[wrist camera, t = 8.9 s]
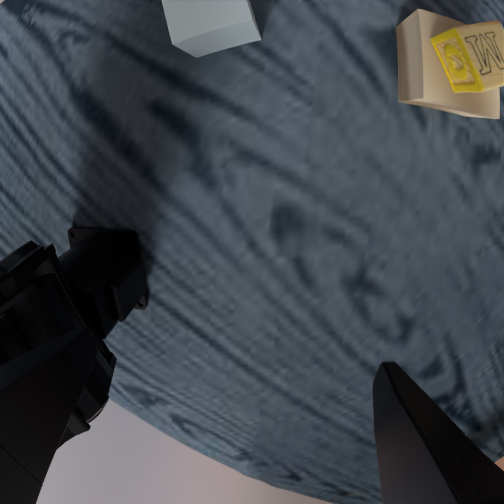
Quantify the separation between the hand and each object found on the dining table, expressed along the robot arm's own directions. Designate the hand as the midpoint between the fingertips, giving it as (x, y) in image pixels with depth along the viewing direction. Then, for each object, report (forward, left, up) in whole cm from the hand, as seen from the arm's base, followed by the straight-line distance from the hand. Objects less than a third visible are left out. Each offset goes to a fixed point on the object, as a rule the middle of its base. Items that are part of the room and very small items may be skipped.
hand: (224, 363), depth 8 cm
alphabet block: (+10, +11, -8) cm, 17 cm away
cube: (-3, +13, -12) cm, 18 cm away
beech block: (+10, +11, -12) cm, 19 cm away
